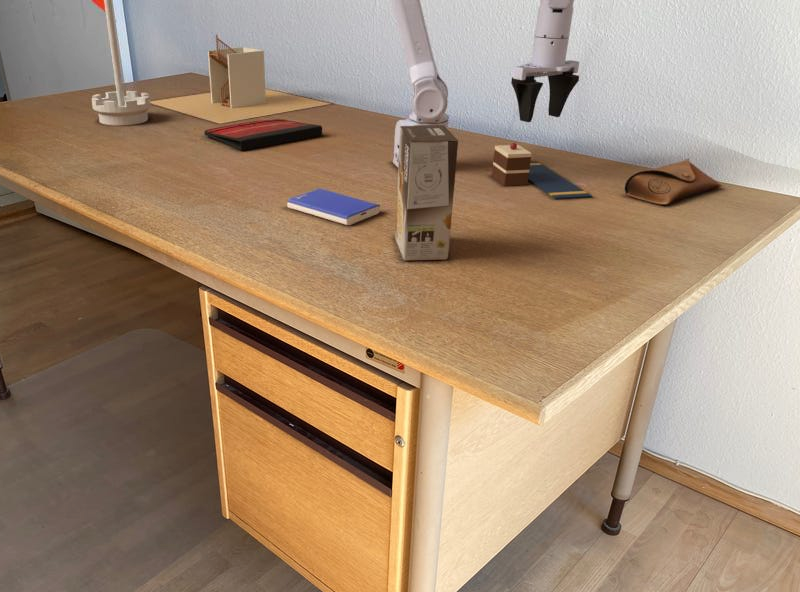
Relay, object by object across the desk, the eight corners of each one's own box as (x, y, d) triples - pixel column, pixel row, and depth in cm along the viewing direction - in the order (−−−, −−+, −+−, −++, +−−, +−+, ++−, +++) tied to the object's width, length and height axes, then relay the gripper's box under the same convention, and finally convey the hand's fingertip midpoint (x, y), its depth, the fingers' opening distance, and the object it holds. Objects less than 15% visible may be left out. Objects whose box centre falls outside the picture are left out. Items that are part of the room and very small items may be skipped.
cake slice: (504, 186, 130) (508, 147, 127) (491, 176, 135) (495, 139, 132) (527, 184, 131) (532, 146, 127) (514, 175, 136) (518, 138, 133)
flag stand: (164, 118, 175) (148, -25, 160) (122, 129, 165) (102, -23, 150) (124, 111, 181) (106, -27, 166) (82, 121, 171) (59, -25, 156)
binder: (322, 124, 159) (240, 139, 148) (322, 135, 161) (241, 151, 149) (278, 115, 170) (199, 128, 159) (279, 125, 172) (200, 139, 160)
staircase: (211, 103, 191) (205, 33, 182) (245, 97, 197) (242, 29, 189) (231, 108, 185) (226, 36, 177) (265, 102, 192) (263, 33, 183)
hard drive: (287, 199, 118) (347, 216, 111) (321, 187, 123) (380, 203, 116) (287, 208, 119) (346, 226, 112) (321, 196, 124) (379, 213, 117)
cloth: (555, 199, 124) (555, 197, 124) (504, 164, 142) (505, 162, 142) (591, 197, 125) (591, 195, 125) (536, 162, 144) (536, 160, 143)
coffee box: (449, 260, 100) (460, 140, 92) (403, 261, 100) (409, 141, 92) (436, 236, 108) (445, 123, 100) (392, 237, 108) (398, 124, 100)
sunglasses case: (668, 204, 120) (657, 164, 120) (631, 216, 126) (620, 178, 125) (724, 185, 130) (714, 148, 129) (687, 196, 136) (677, 161, 135)
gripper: (540, 42, 120) (529, 127, 127) (598, 36, 127) (584, 117, 134) (508, 37, 125) (499, 120, 132) (565, 32, 132) (553, 111, 139)
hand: (539, 118), depth 133 cm, fingers open, 7 cm apart
